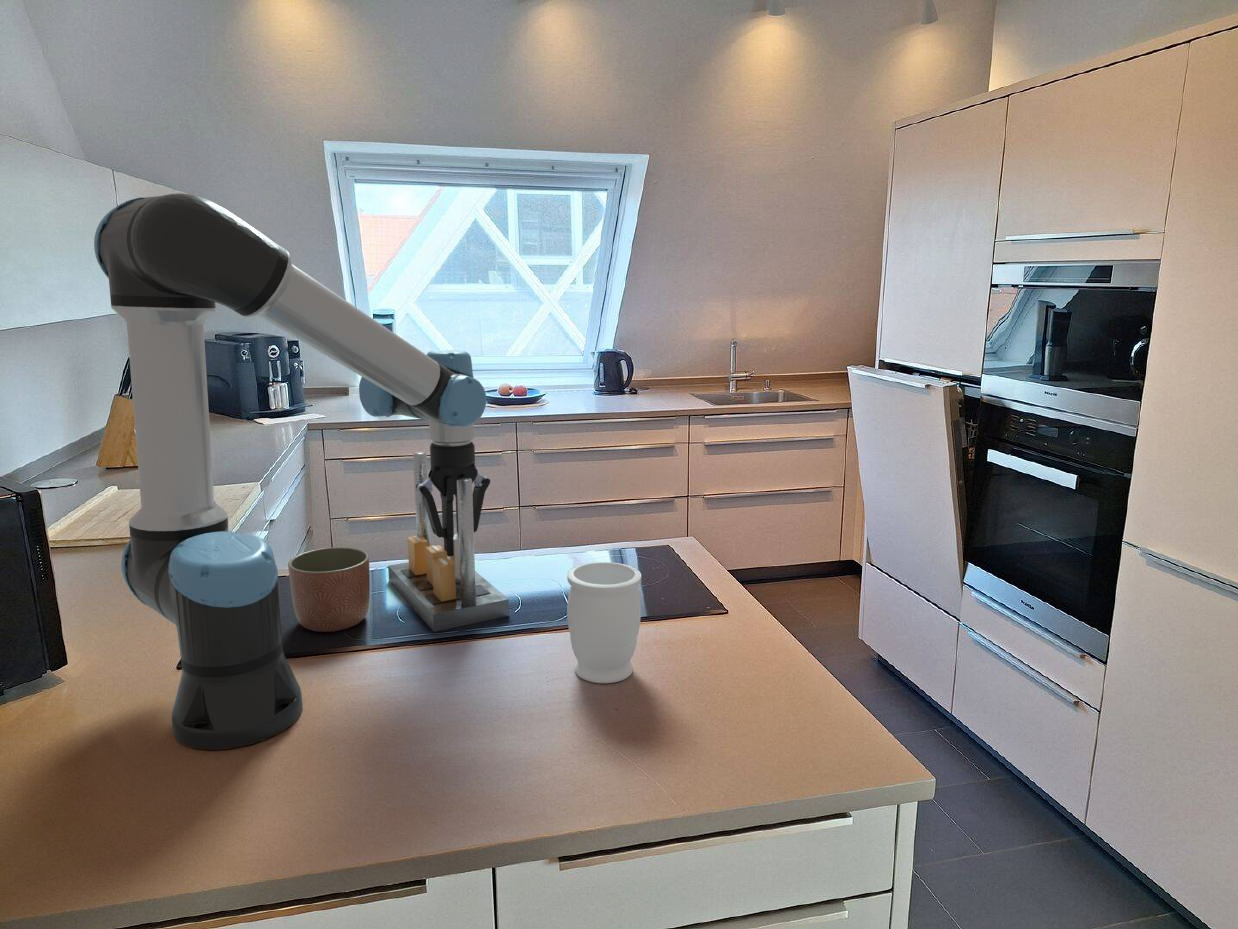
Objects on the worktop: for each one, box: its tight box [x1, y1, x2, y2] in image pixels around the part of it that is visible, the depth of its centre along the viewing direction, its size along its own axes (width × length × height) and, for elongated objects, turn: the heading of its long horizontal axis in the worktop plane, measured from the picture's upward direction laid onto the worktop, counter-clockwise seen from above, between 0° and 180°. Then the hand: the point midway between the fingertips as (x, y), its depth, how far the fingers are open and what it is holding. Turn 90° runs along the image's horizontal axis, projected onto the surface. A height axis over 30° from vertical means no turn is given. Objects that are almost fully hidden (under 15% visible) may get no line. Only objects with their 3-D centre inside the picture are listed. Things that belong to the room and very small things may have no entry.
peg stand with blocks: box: [387, 451, 510, 633], centre depth 143 cm, size 26×13×24 cm, turn 31°
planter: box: [287, 546, 371, 633], centre depth 133 cm, size 12×12×11 cm
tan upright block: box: [425, 544, 447, 585], centre depth 143 cm, size 4×2×6 cm, turn 31°
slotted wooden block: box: [432, 558, 456, 602], centre depth 137 cm, size 4×2×6 cm, turn 31°
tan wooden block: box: [407, 535, 428, 575], centre depth 148 cm, size 4×2×6 cm, turn 31°
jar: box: [566, 561, 642, 684], centre depth 117 cm, size 11×10×15 cm
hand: (456, 571), depth 145 cm, fingers closed
